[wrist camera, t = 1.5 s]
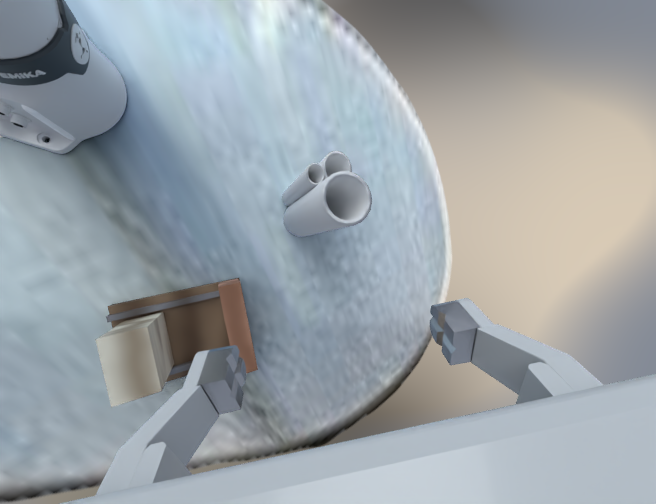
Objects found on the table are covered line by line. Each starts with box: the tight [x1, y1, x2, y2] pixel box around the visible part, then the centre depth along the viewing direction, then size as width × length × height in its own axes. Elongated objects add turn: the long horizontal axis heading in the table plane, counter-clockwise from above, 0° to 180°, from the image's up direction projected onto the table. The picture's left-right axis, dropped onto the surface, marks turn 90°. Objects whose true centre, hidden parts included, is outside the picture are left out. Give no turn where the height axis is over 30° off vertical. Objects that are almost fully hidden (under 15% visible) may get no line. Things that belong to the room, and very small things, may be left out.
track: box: [106, 278, 258, 382], centre depth 39 cm, size 18×13×8 cm
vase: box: [282, 151, 372, 237], centre depth 41 cm, size 11×7×20 cm, turn 177°
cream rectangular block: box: [95, 312, 174, 408], centre depth 35 cm, size 5×8×9 cm, turn 11°
